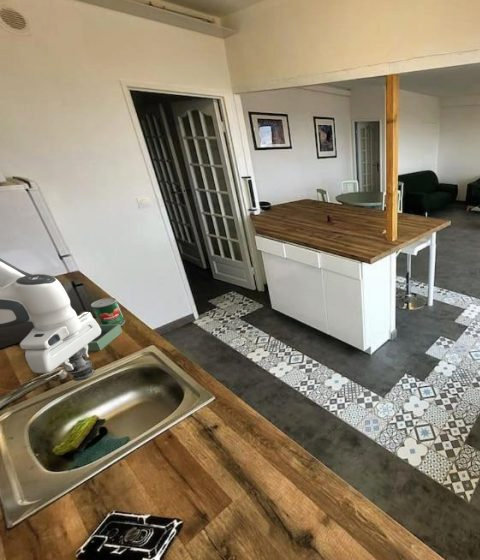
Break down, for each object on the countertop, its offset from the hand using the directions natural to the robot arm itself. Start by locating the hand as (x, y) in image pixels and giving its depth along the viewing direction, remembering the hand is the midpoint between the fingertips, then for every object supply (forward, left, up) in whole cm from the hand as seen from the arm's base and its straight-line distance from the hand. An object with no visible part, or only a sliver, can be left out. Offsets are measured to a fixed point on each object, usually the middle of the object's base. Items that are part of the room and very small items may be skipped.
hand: (78, 363), depth 97 cm
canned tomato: (+36, +17, -9) cm, 41 cm away
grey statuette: (0, 0, -5) cm, 5 cm away
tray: (+24, +20, -9) cm, 33 cm away
